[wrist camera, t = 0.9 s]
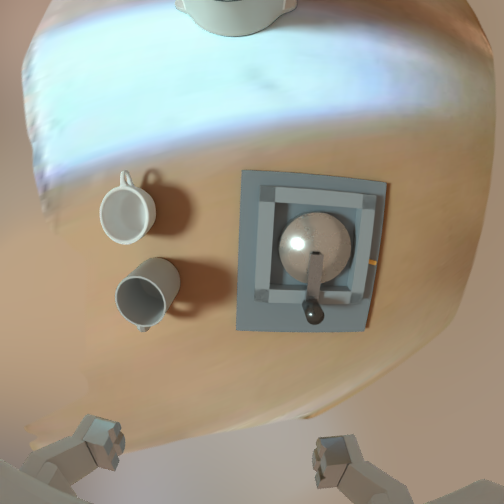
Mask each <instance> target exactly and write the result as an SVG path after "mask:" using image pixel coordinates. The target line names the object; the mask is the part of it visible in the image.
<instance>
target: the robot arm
mask: <svg viewBox="0 0 504 504" xmlns="http://www.w3.org/2000/svg"><path fill="white" fill-rule="evenodd" d="M175 6H176V9H178V10H179V11H181V12H183V13H186V14H188V15H189V16H190V17H191V18H192V19H193V21H194V22H195V23H196V24H197V25H198V26H199V27H201V28H202V29H204V30H206V31H208V32H210V33H213V34H217V35H222V36H243V35H248V34H252V33H255V32H258V31H260V30H262V29H264V28H266V27H267V26H269V25H270V24H271V23H273V22H274V21H275V20H276V19H277V18H278V17H279V16H280V15H282V14H284V13H287V12H290V11H292V10H294V9H295V8H296V6H297V2H296V0H176V1H175ZM120 430H121V425H120V423H119V422H115V421H112V420H108V419H104V418H101V417H97V416H94V415H90V414H87V415H85V417H84V418H83V420H82V421H81V423H80V424H79V426H78V428H77V429H76V431H75V432H74V434H73V436H72V437H71V436H68V437H66V438H64V439H61V440H59V441H57V442H55V443H52V444H50V445H48V446H45V447H43V448H41V449H38V450H36V451H33V452H31V453H30V455H29V456H28V457H27V459H26V460H25V462H24V463H23V465H22V466H21V468H20V469H19V470H18V469H17V468H15V467H13V466H11V465H10V464H8V463H6V462H5V461H3V460H2V459H0V504H93V503H90V502H88V501H85V500H82V499H80V498H77V495H76V493H75V492H74V490H73V489H72V488H71V485H73V484H74V483H76V482H77V481H79V480H80V479H82V478H83V477H85V476H86V475H88V474H89V473H91V472H92V471H93V470H95V469H96V468H97V467H101V468H104V469H108V470H112V471H115V470H116V468H117V466H118V463H119V458H118V456H119V455H121V454H123V451H124V449H125V437H124V434H123V433H121V432H120ZM316 446H317V448H316V449H314V452H313V458H312V463H313V469H314V470H315V471H316V472H317V473H316V476H315V480H316V485H317V489H321V488H331V487H337V488H338V489H339V490H340V491H341V492H342V493H343V494H344V495H345V496H346V497H347V498H348V499H349V500H350V501H351V502H353V503H354V504H414V503H413V500H412V498H411V496H410V493H409V491H408V489H407V487H406V485H404V484H402V483H400V482H399V481H398V480H396V479H394V478H392V477H391V476H390V475H388V474H387V473H385V472H383V471H382V470H381V469H379V468H378V467H376V466H375V465H373V464H372V463H370V462H369V461H364V458H363V456H362V453H361V450H360V448H359V445H358V443H357V440H356V437H355V435H353V434H352V435H344V436H332V437H321V438H318V439H317V441H316ZM425 504H504V486H502V485H500V484H497V483H494V482H492V481H489V480H485V479H482V480H479V481H476V482H474V483H472V484H470V485H468V486H466V487H463V488H461V489H459V490H457V491H455V492H453V493H450V494H448V495H445V496H443V497H440V498H438V499H435V500H433V501H430V502H427V503H425Z"/></svg>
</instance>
